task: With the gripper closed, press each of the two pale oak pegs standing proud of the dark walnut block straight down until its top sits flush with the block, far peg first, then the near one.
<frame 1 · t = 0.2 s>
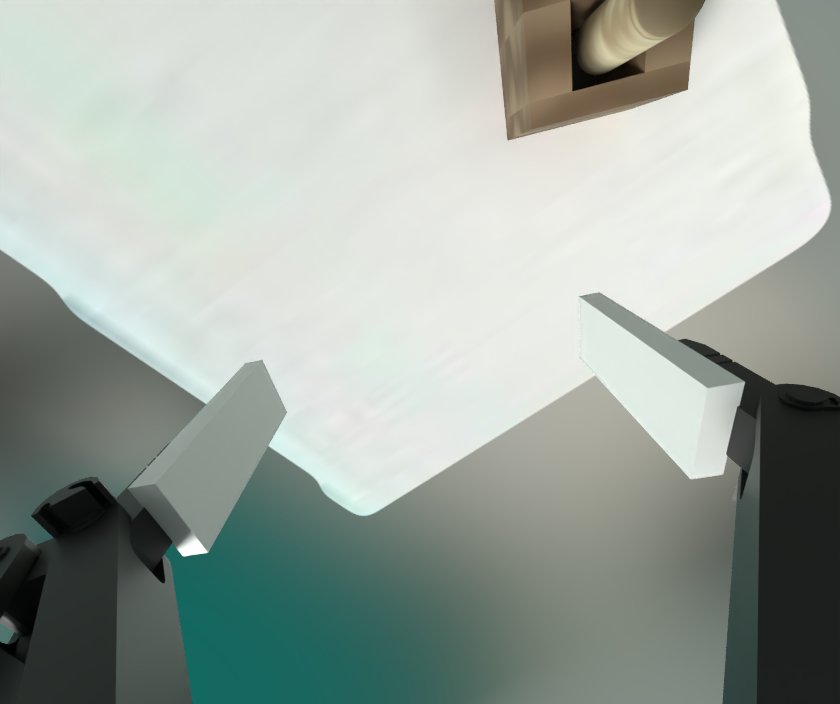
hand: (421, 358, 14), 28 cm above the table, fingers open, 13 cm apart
peg a: (631, 20, 23), point 11 cm above the table, slide at 7.0 cm
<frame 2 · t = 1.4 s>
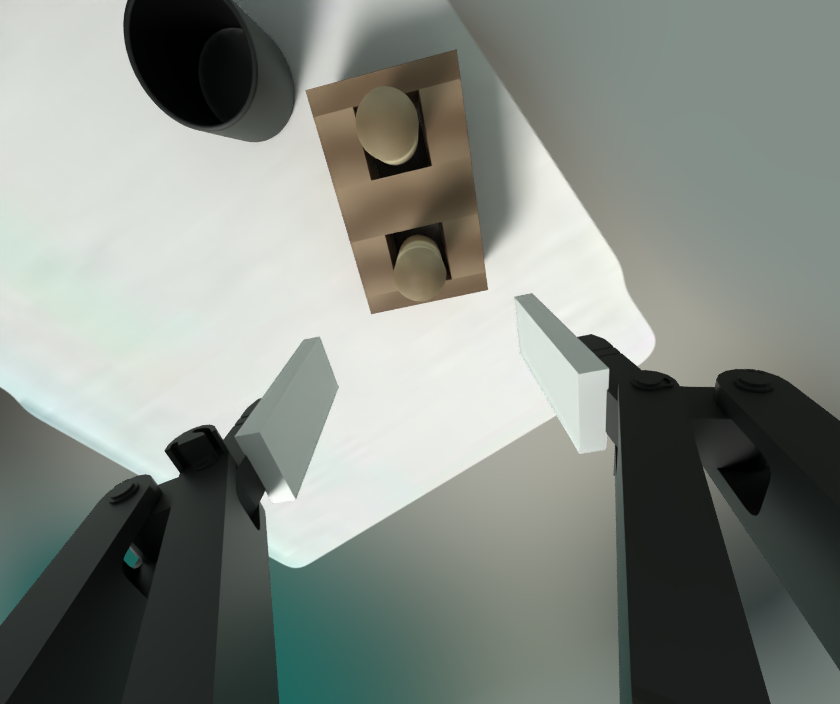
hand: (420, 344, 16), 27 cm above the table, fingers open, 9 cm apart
peg a: (419, 264, 30), point 11 cm above the table, slide at 7.0 cm
peg b: (391, 132, 26), point 11 cm above the table, slide at 7.0 cm
walnut block: (409, 197, 38), on the table
mug: (234, 75, 33), on the table
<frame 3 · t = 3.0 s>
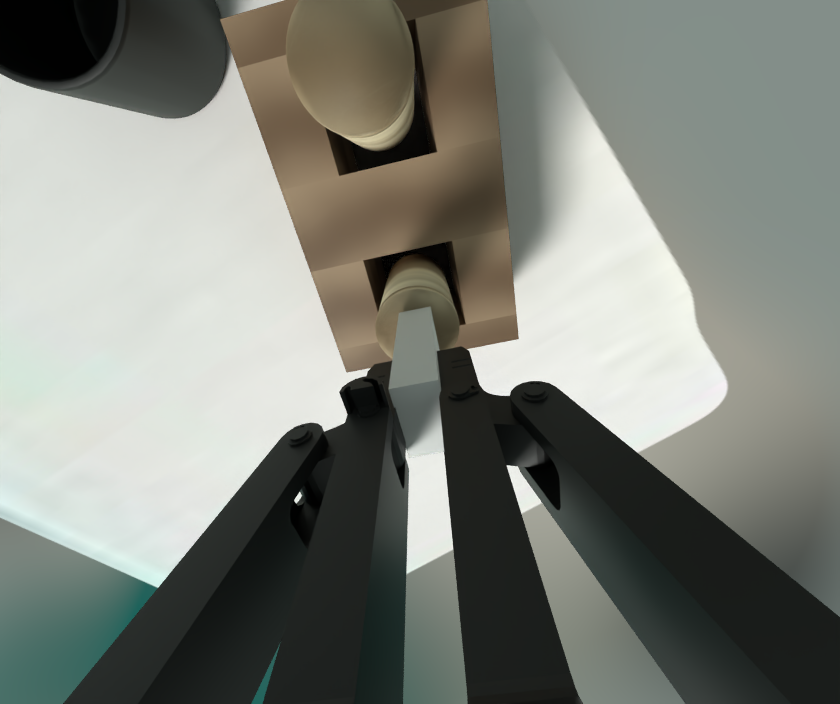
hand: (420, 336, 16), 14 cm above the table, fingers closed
peg a: (416, 302, 20), point 10 cm above the table, slide at 5.7 cm, touching gripper
peg b: (366, 90, 15), point 11 cm above the table, slide at 7.0 cm
walnut block: (402, 201, 27), on the table
mug: (134, 14, 22), on the table
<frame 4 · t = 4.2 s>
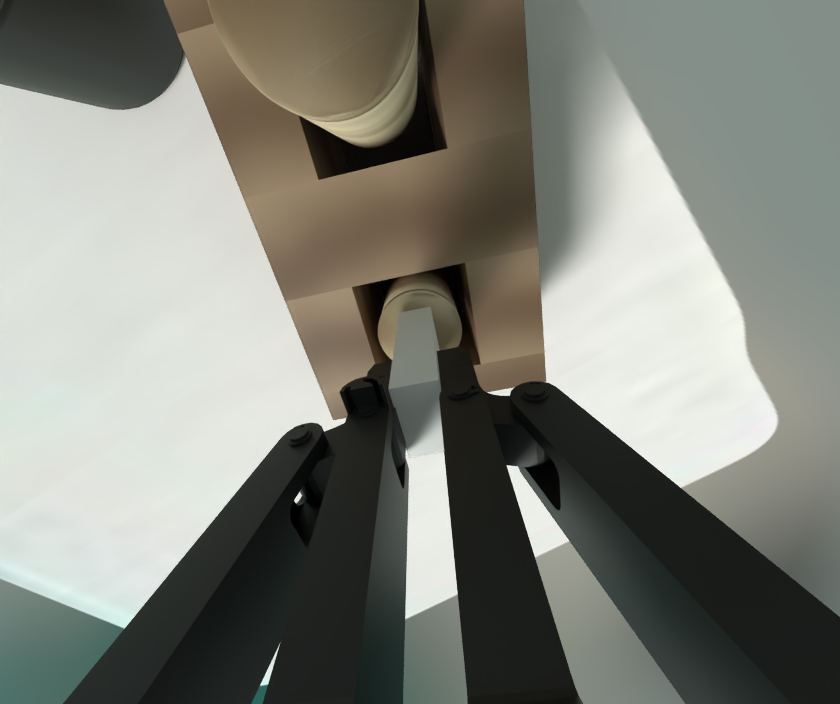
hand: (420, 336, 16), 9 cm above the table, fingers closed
peg a: (419, 305, 20), point 5 cm above the table, slide at 0.6 cm, touching gripper
peg b: (349, 57, 10), point 11 cm above the table, slide at 7.0 cm
walnut block: (402, 209, 22), on the table
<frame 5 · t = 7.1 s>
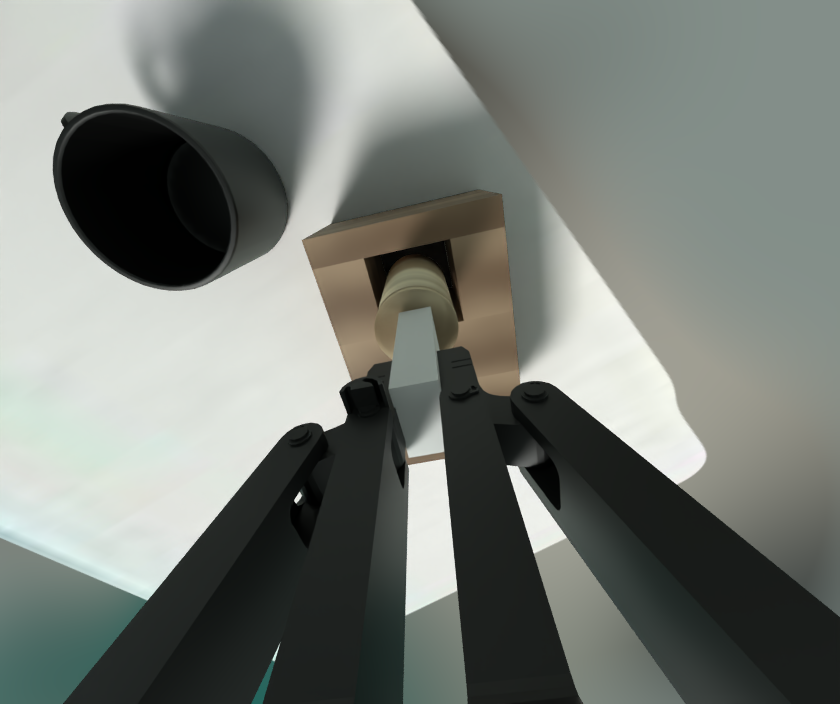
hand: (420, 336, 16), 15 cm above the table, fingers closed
peg b: (416, 302, 20), point 10 cm above the table, slide at 6.3 cm, touching gripper
walnut block: (427, 317, 32), on the table
mug: (213, 186, 27), on the table
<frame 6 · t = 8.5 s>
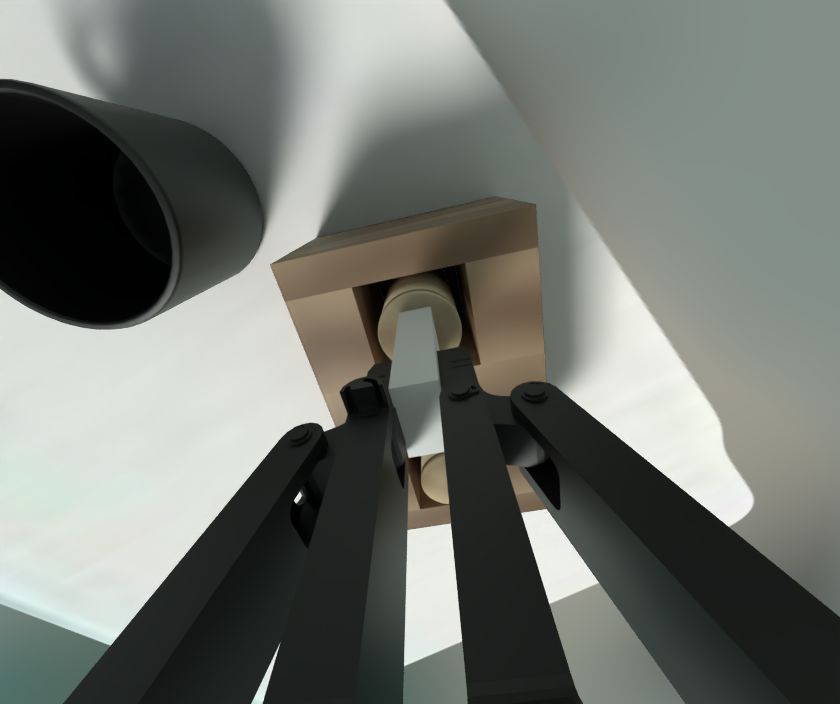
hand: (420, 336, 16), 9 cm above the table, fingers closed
peg a: (448, 437, 25), point 5 cm above the table, slide at 0.6 cm
peg b: (419, 306, 20), point 5 cm above the table, slide at 0.6 cm, touching gripper
walnut block: (432, 347, 26), on the table
mug: (172, 192, 22), on the table
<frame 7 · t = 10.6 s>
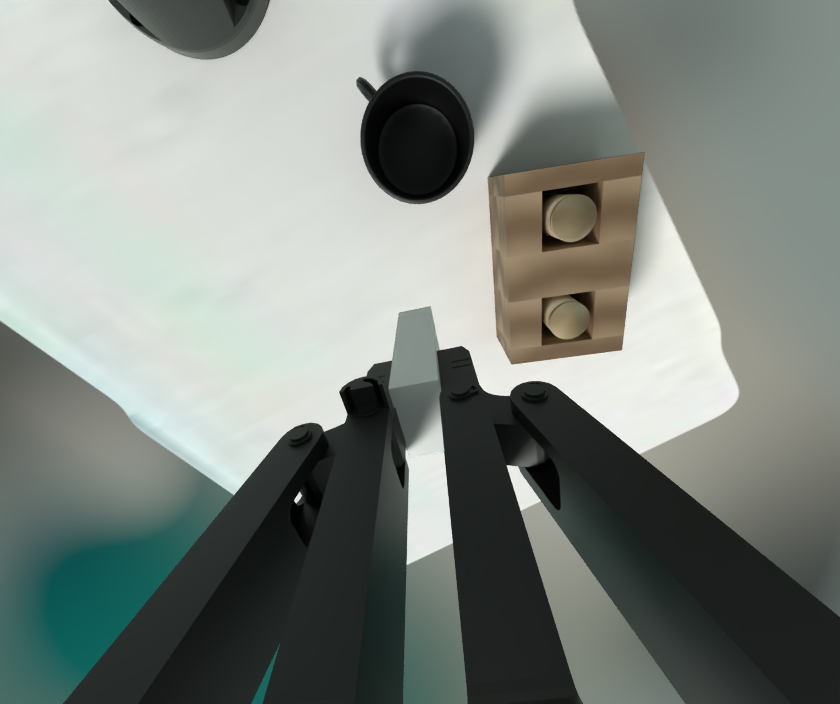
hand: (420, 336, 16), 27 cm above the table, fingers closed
peg a: (556, 309, 39), point 5 cm above the table, slide at 0.6 cm
peg b: (558, 215, 35), point 5 cm above the table, slide at 0.6 cm
walnut block: (543, 257, 41), on the table
mug: (408, 142, 36), on the table
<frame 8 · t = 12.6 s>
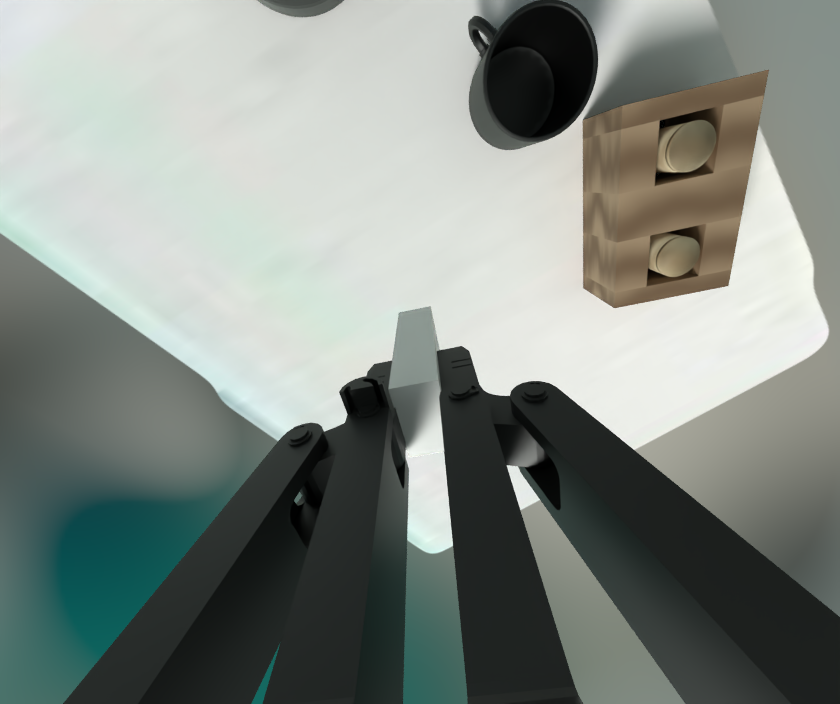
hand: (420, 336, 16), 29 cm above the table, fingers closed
peg a: (655, 250, 39), point 5 cm above the table, slide at 0.6 cm
peg b: (663, 150, 35), point 5 cm above the table, slide at 0.6 cm
walnut block: (634, 201, 41), on the table
mug: (504, 89, 36), on the table
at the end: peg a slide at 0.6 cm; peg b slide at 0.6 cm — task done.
